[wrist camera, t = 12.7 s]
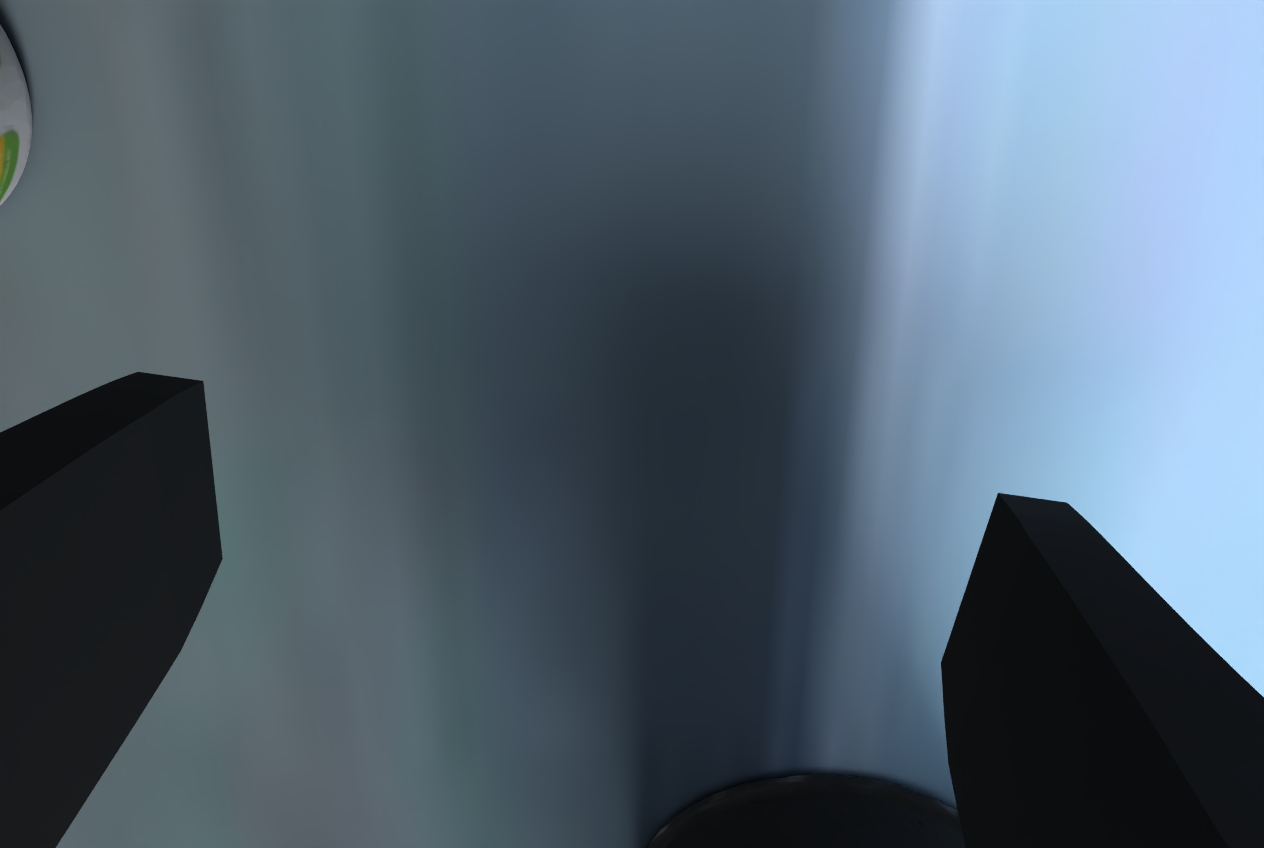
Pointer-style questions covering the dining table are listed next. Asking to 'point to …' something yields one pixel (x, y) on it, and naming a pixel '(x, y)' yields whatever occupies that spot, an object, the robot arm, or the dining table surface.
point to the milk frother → (814, 816)
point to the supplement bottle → (12, 118)
